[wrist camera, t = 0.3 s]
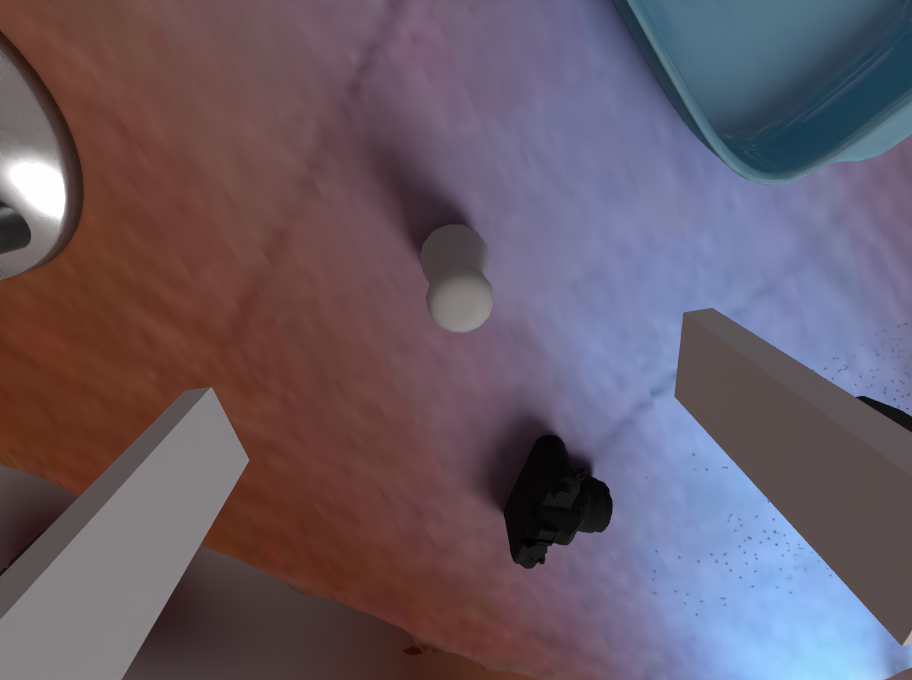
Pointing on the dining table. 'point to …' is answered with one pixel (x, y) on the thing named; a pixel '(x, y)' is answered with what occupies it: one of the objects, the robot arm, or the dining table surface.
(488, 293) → the salt shaker
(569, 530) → the film camera
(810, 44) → the casserole dish
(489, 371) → the dining table surface
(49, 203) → the levelling base
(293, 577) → the dining table surface
